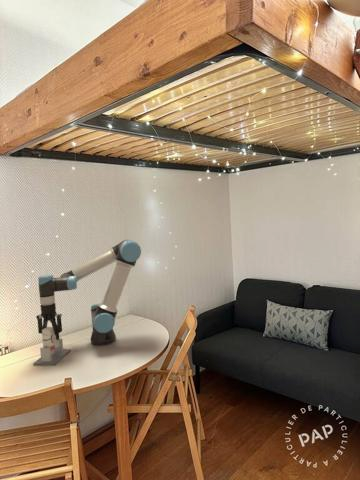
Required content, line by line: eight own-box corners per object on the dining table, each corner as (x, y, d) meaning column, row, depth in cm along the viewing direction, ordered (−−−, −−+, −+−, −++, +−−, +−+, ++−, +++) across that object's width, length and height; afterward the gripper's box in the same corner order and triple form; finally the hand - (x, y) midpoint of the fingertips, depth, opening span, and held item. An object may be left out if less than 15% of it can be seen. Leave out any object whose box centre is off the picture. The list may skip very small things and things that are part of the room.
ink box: (51, 351, 176) (49, 329, 175) (43, 351, 177) (40, 330, 176) (60, 345, 184) (58, 324, 183) (52, 345, 185) (50, 324, 184)
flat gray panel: (70, 351, 189) (69, 335, 188) (55, 365, 171) (53, 347, 170) (51, 351, 190) (49, 335, 190) (33, 365, 173) (31, 348, 172)
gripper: (66, 301, 181) (70, 342, 183) (36, 302, 184) (39, 343, 185) (60, 304, 174) (64, 347, 175) (28, 305, 176) (32, 348, 178)
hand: (51, 345), depth 180 cm, fingers closed on ink box, 5 cm apart
